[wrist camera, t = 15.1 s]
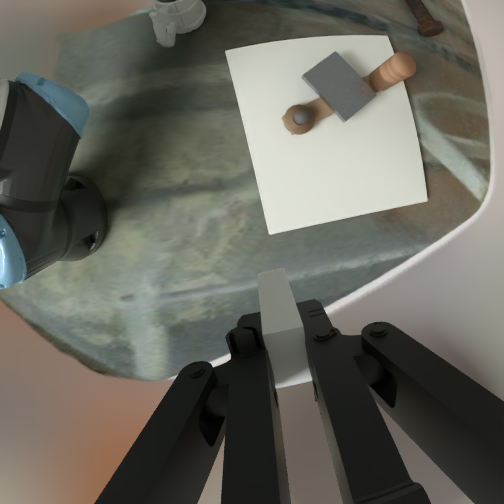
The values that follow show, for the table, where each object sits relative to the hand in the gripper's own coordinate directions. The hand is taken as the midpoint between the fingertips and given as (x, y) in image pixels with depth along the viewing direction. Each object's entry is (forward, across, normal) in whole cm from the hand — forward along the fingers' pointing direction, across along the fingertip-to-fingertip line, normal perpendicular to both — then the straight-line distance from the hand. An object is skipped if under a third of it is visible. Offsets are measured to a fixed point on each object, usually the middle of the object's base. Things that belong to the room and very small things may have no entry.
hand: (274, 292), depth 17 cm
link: (+28, +16, +15) cm, 36 cm away
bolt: (+31, +38, +36) cm, 61 cm away
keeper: (+30, +16, +17) cm, 38 cm away
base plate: (+30, +15, +12) cm, 35 cm away
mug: (+31, -5, +35) cm, 47 cm away
